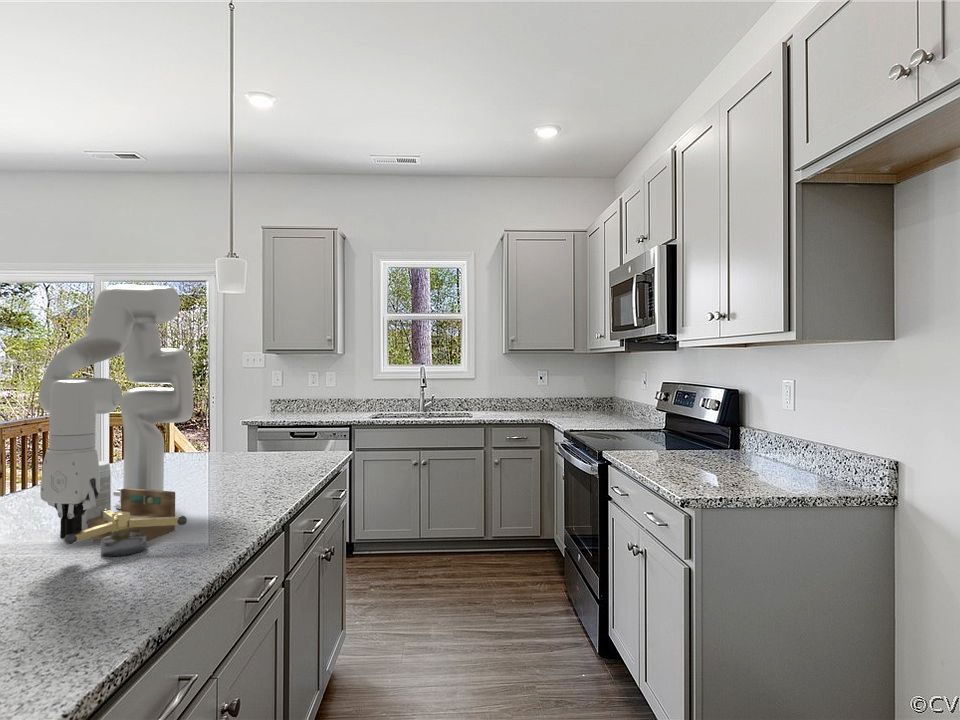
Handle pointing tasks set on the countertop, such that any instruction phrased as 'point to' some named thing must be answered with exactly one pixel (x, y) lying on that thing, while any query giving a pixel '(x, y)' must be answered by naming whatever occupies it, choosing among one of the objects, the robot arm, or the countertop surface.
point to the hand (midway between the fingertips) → (71, 537)
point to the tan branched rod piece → (122, 532)
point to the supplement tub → (100, 495)
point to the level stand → (143, 511)
